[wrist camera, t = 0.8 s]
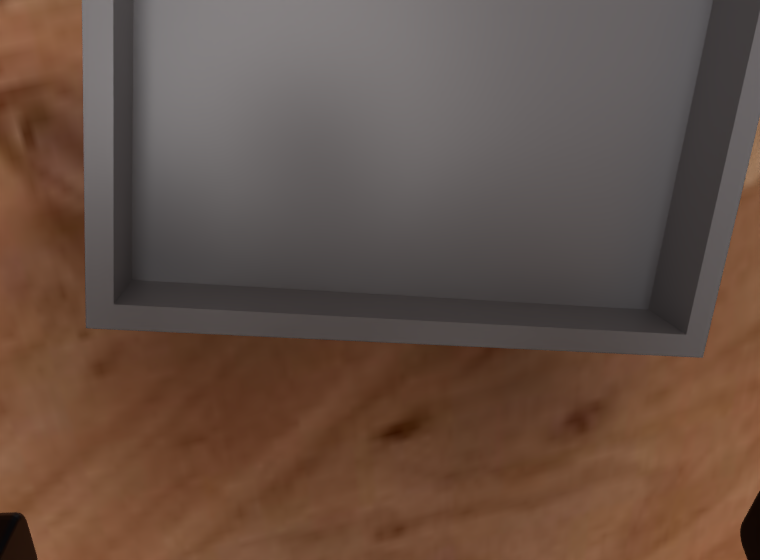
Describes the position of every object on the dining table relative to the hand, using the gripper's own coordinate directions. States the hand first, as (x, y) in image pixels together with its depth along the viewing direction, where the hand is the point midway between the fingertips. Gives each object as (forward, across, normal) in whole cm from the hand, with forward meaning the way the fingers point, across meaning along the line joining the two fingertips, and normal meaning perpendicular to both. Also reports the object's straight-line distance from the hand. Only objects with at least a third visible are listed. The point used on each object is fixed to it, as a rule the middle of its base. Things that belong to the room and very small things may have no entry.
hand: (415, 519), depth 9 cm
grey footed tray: (+15, -2, -2) cm, 15 cm away
